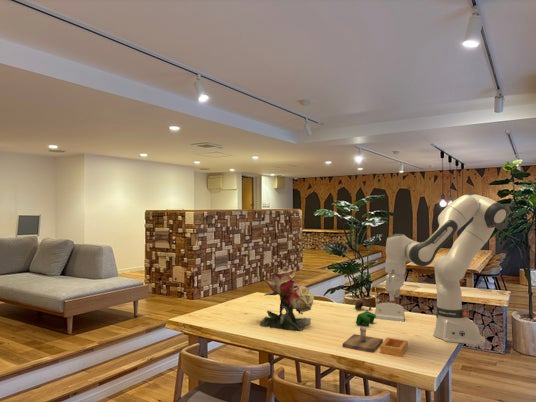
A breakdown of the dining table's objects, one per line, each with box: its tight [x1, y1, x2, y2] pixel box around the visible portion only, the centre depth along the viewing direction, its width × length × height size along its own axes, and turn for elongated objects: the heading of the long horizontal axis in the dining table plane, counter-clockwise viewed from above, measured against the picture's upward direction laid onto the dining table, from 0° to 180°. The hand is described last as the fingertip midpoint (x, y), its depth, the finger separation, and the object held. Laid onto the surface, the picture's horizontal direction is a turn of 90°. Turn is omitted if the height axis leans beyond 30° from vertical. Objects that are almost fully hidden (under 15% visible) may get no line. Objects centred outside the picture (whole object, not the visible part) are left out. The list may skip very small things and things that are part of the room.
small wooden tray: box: [379, 337, 409, 357], centre depth 174 cm, size 9×13×3 cm
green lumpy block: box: [355, 310, 376, 327], centre depth 214 cm, size 12×6×9 cm, turn 133°
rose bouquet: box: [259, 267, 315, 331], centre depth 216 cm, size 26×29×30 cm
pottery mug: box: [354, 296, 373, 311], centre depth 245 cm, size 12×10×8 cm
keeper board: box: [342, 325, 384, 354], centre depth 181 cm, size 14×16×8 cm
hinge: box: [374, 302, 406, 323], centre depth 225 cm, size 17×5×10 cm, turn 66°
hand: (394, 298), depth 182 cm, fingers open, 8 cm apart
